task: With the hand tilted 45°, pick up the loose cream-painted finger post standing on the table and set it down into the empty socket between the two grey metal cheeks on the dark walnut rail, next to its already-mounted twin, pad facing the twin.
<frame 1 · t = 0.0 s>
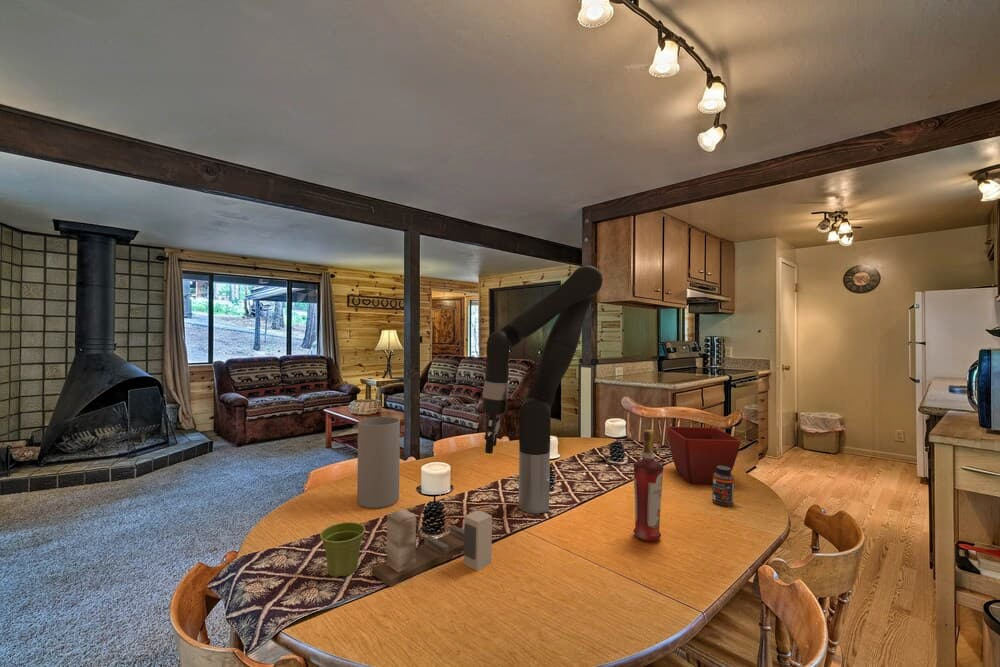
hand: (490, 449, 134), 17 cm above the table, tool pointing down, fingers open, 8 cm apart
liquor: (647, 538, 114), on the table
plant pot: (700, 479, 161), on the table
cylinder vase: (378, 501, 136), on the table
plant pot 2: (342, 571, 97), on the table
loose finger: (477, 563, 101), on the table
supplement bottle: (722, 503, 138), on the table
rail: (426, 559, 102), on the table
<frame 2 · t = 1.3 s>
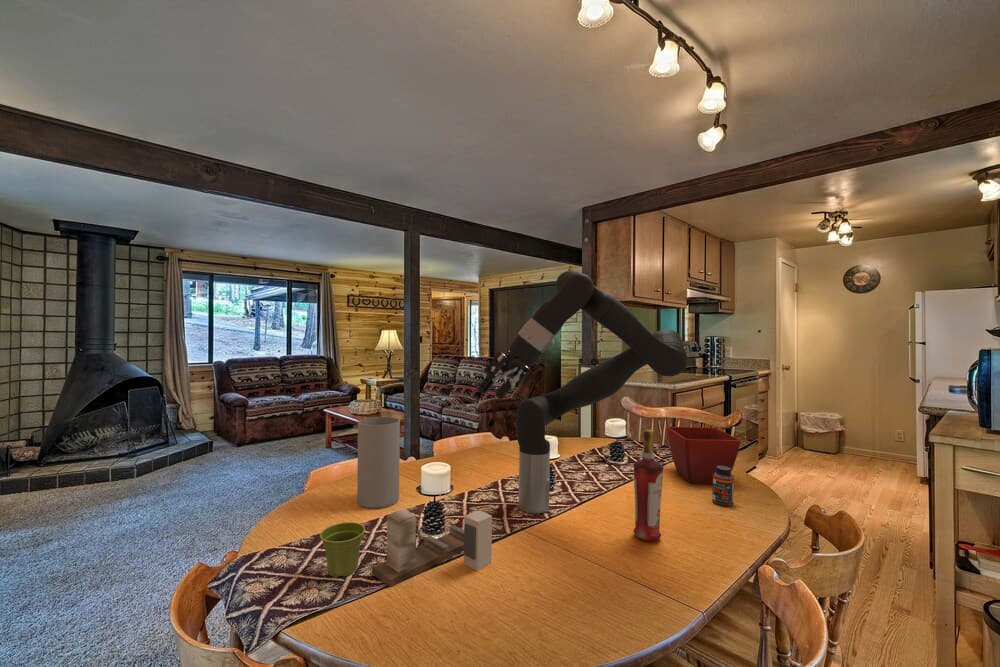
hand: (489, 394, 106), 38 cm above the table, tool tilted 35°, fingers open, 8 cm apart
nothing on the table moved.
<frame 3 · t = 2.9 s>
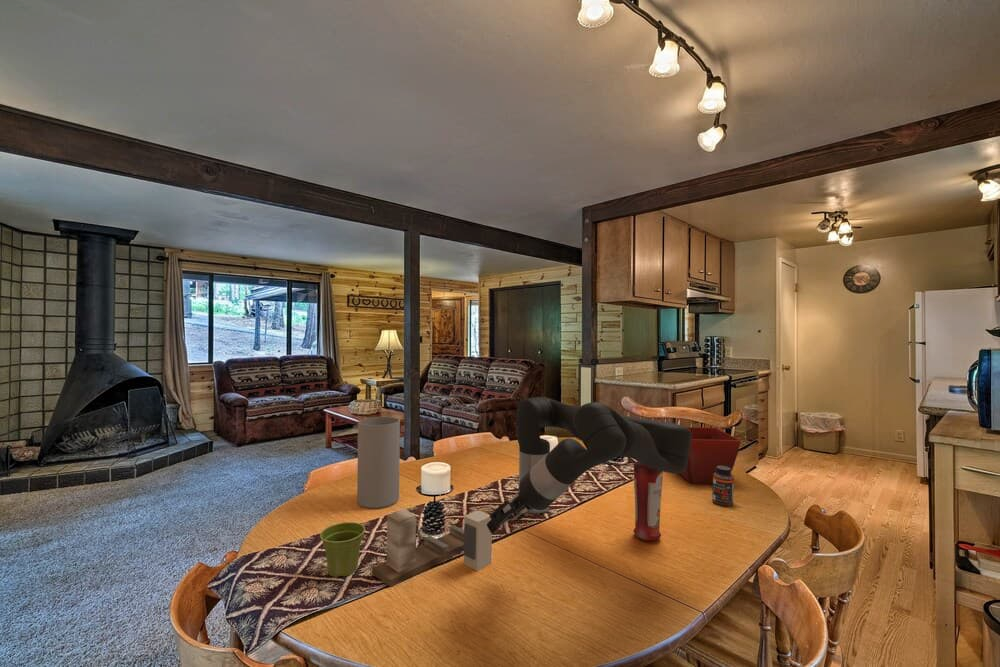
hand: (503, 522, 94), 12 cm above the table, tool tilted 45°, fingers open, 8 cm apart
nothing on the table moved.
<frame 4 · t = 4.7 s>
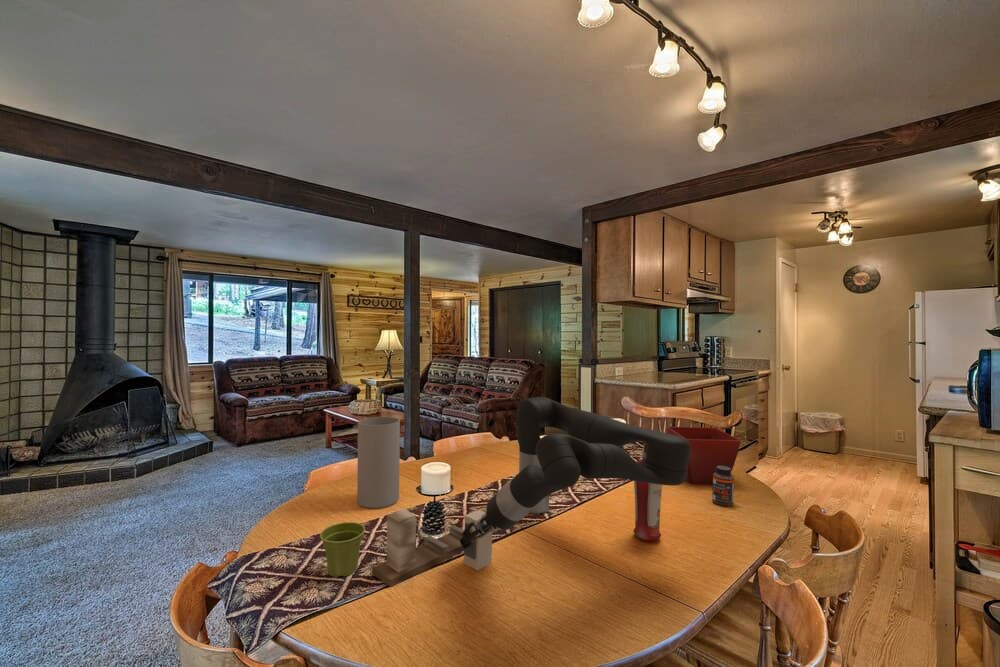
hand: (471, 539, 102), 5 cm above the table, tool tilted 45°, fingers closed on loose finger, 5 cm apart
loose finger: (477, 563, 101), on the table, touching gripper
everything else where it was.
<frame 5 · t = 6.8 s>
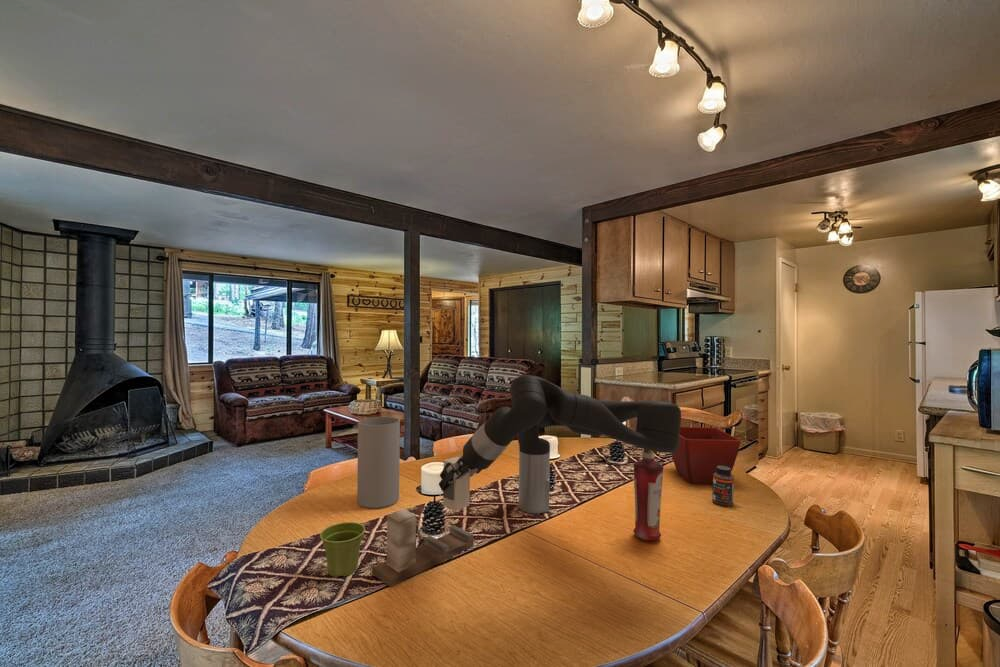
hand: (450, 484, 107), 16 cm above the table, tool tilted 45°, fingers closed on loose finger, 5 cm apart
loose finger: (456, 505, 106), point 11 cm above the table, touching gripper
everything else where it was.
when the fingers open (8 cm above the table, at t = 9.0 s): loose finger drops 2 cm, resting on rail.
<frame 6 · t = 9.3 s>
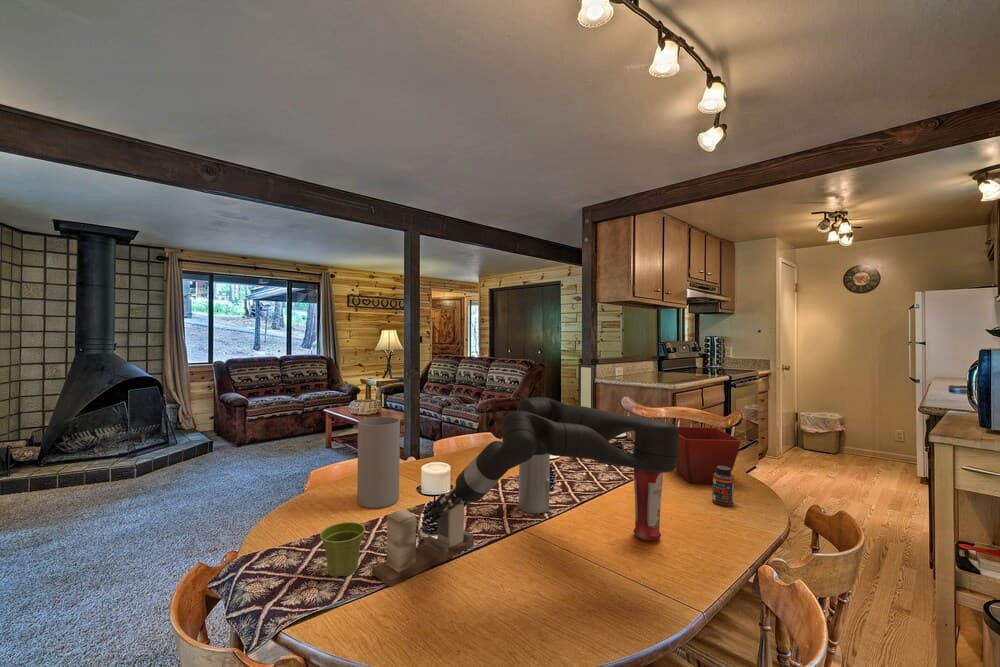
hand: (445, 512, 108), 8 cm above the table, tool tilted 45°, fingers open, 7 cm apart
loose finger: (450, 541, 108), point 2 cm above the table, touching rail
everything else where it was.
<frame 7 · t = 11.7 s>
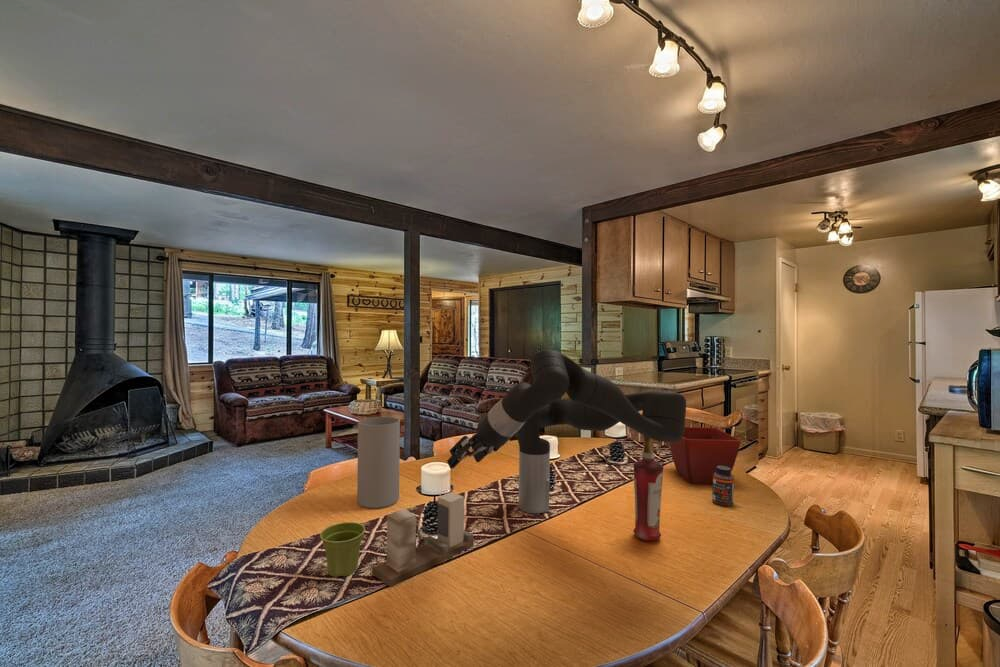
hand: (463, 461, 104), 22 cm above the table, tool tilted 45°, fingers open, 8 cm apart
nothing on the table moved.
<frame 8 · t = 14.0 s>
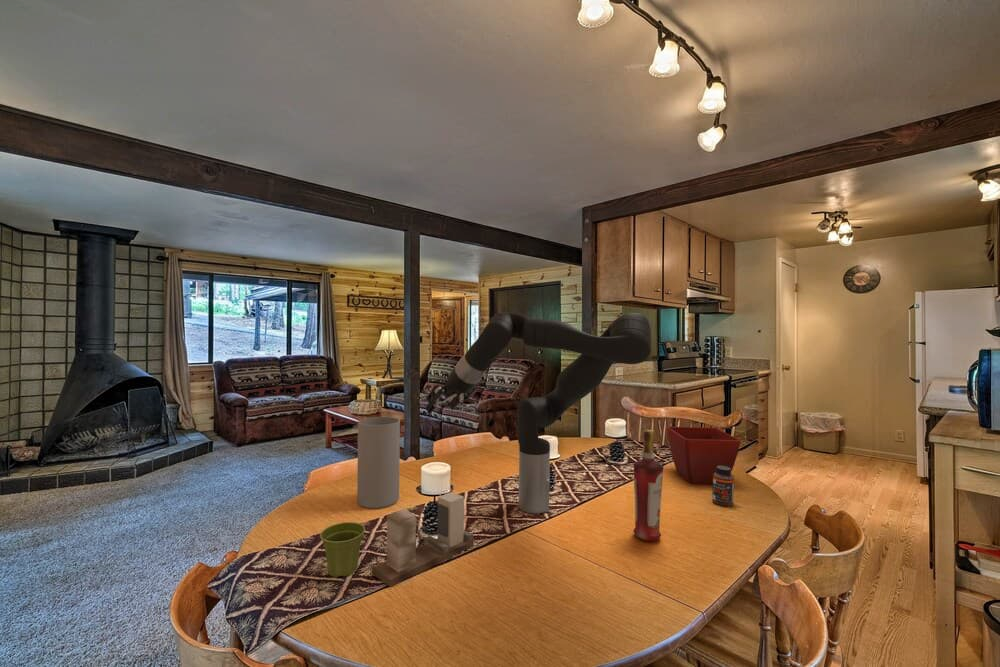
hand: (439, 409, 126), 31 cm above the table, tool tilted 45°, fingers open, 8 cm apart
nothing on the table moved.
at the end: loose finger 0.5 cm from the target spot, point 1.5 cm above the table; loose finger tilted 0°; the gripper is holding nothing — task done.
